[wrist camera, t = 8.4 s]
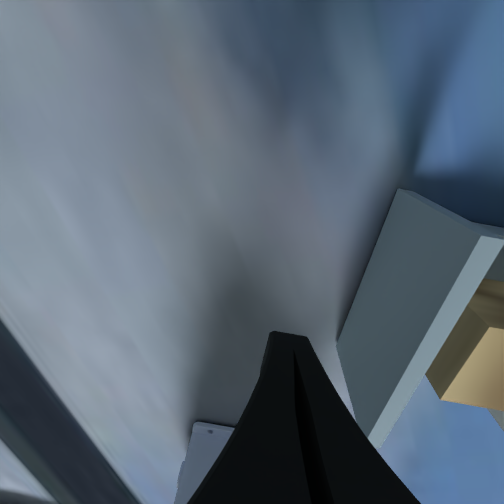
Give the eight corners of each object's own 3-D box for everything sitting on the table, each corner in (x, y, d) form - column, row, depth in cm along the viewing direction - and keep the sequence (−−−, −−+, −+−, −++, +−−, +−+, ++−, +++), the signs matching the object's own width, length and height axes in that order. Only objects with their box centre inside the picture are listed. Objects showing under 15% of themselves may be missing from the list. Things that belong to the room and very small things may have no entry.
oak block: (397, 328, 18) (440, 399, 13) (428, 267, 16) (489, 326, 11) (466, 340, 18) (531, 415, 13) (504, 282, 16) (595, 346, 12)
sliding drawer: (335, 346, 20) (363, 446, 14) (397, 188, 15) (481, 235, 9) (485, 372, 20) (576, 483, 14) (593, 225, 15) (805, 295, 9)
